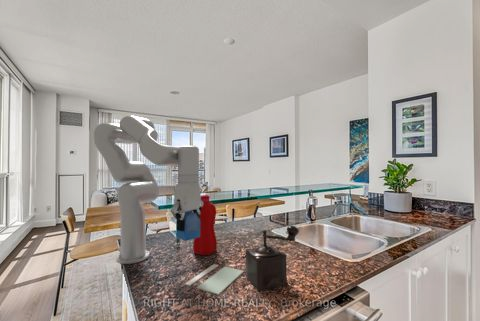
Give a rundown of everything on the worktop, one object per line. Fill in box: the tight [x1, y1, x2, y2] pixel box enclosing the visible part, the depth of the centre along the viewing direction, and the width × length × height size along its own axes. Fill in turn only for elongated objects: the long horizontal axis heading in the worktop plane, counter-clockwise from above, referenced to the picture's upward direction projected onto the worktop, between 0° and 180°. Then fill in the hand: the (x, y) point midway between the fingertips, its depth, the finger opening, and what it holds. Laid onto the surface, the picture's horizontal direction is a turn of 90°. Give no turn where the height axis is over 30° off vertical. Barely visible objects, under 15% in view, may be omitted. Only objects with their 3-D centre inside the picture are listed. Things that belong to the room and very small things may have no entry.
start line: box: [184, 263, 219, 287], centre depth 80 cm, size 2×16×1 cm, turn 151°
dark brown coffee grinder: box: [245, 225, 300, 292], centre depth 76 cm, size 16×11×18 cm
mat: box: [196, 266, 245, 296], centre depth 76 cm, size 8×16×1 cm, turn 151°
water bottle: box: [192, 194, 218, 256], centre depth 101 cm, size 9×11×25 cm
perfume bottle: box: [175, 210, 200, 242], centre depth 83 cm, size 6×6×12 cm
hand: (188, 227), depth 83 cm, fingers closed on perfume bottle, 7 cm apart
